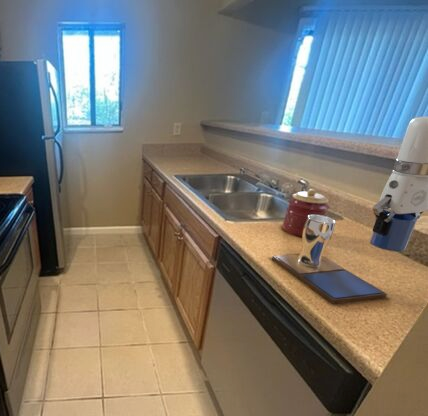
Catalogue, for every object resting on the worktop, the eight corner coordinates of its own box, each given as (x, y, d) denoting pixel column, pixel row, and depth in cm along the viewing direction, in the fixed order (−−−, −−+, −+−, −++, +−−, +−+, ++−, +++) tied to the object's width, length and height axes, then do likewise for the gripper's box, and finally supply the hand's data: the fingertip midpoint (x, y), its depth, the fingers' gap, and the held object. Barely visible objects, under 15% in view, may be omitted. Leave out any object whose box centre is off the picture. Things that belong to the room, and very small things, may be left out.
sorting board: (314, 254, 93) (315, 251, 92) (385, 297, 73) (387, 293, 72) (271, 259, 91) (272, 255, 90) (332, 303, 71) (333, 299, 70)
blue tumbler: (383, 238, 80) (394, 210, 77) (412, 250, 73) (425, 219, 70) (362, 241, 79) (372, 212, 76) (389, 252, 73) (401, 221, 70)
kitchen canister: (286, 236, 106) (297, 192, 100) (278, 222, 117) (287, 183, 111) (326, 240, 102) (341, 195, 96) (314, 226, 114) (325, 185, 107)
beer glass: (322, 271, 82) (337, 225, 76) (294, 263, 86) (306, 219, 80) (322, 260, 87) (336, 217, 82) (296, 254, 91) (307, 212, 85)
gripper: (402, 174, 64) (378, 241, 70) (464, 169, 66) (436, 235, 72) (369, 167, 71) (350, 229, 77) (426, 163, 73) (403, 224, 79)
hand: (391, 231), depth 75 cm, fingers closed on blue tumbler, 7 cm apart
